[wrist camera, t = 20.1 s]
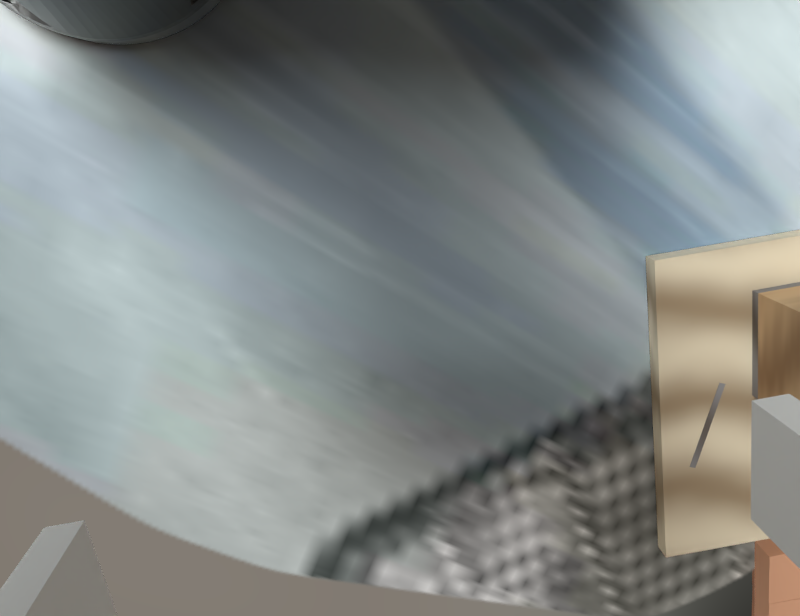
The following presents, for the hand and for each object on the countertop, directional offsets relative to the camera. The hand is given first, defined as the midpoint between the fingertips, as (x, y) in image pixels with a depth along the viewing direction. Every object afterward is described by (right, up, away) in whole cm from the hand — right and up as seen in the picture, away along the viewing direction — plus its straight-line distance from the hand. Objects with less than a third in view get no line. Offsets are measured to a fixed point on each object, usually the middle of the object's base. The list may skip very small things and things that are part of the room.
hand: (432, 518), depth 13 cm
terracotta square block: (+27, -14, +35) cm, 46 cm away
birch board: (+25, -1, +30) cm, 39 cm away
